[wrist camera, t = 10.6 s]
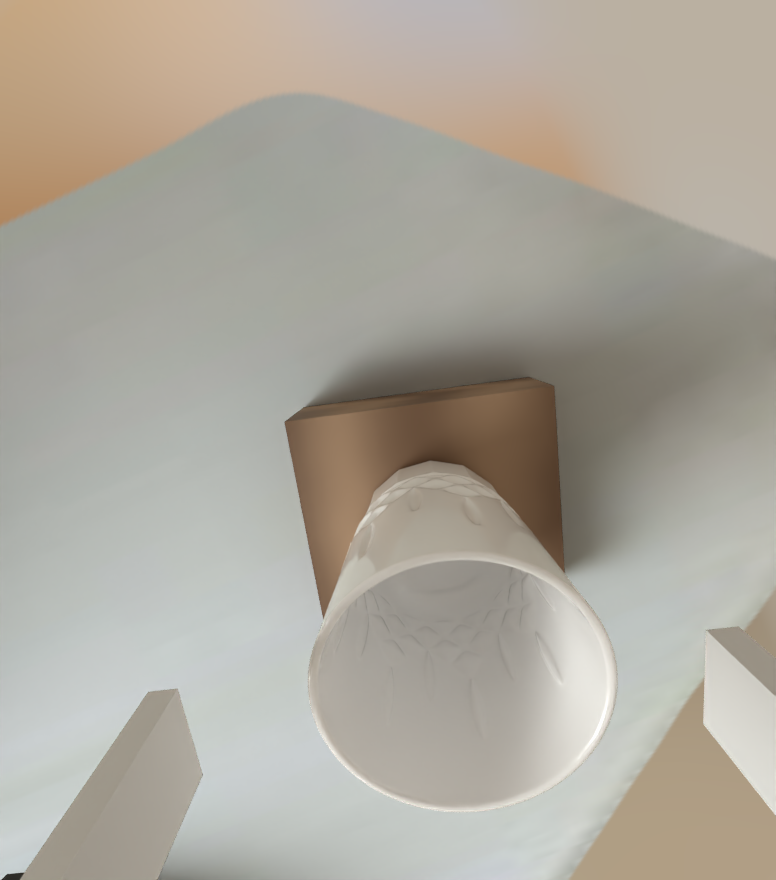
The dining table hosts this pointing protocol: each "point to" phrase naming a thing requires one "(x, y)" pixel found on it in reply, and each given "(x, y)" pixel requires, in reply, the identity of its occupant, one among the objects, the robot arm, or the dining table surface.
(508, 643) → the white cup
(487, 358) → the dining table surface
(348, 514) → the walnut plinth
